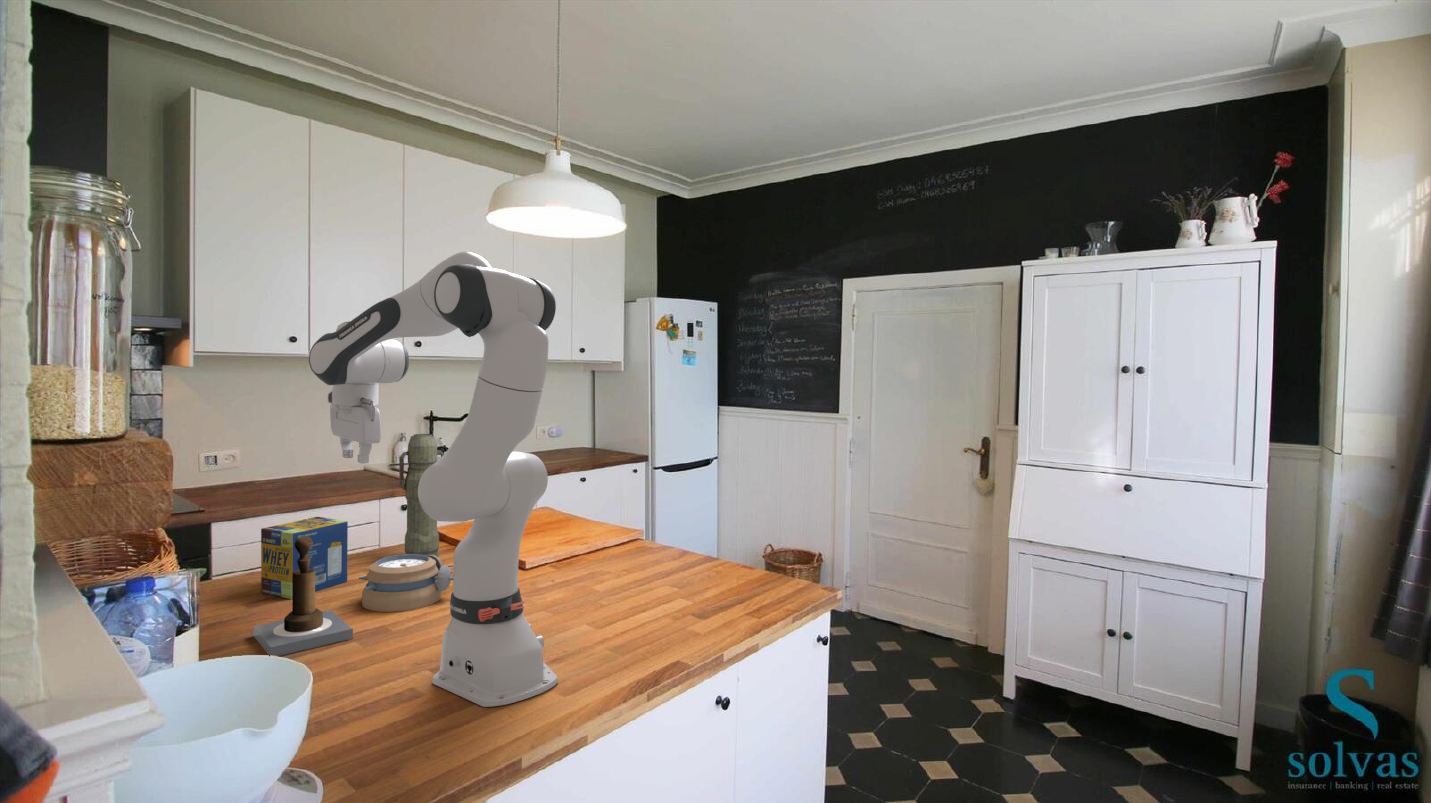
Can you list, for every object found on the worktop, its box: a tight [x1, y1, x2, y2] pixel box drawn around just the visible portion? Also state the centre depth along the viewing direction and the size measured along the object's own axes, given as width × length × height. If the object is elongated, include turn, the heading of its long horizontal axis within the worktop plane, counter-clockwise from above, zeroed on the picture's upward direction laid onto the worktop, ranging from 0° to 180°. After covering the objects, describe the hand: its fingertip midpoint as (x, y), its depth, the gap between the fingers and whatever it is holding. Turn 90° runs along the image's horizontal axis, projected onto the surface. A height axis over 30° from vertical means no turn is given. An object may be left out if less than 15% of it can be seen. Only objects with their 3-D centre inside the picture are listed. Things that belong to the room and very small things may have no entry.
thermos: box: [398, 433, 445, 558], centre depth 194 cm, size 9×12×35 cm
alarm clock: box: [358, 553, 454, 613], centre depth 163 cm, size 17×9×23 cm
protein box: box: [260, 516, 349, 600], centre depth 167 cm, size 10×15×16 cm
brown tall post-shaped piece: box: [283, 536, 324, 632], centre depth 137 cm, size 7×6×18 cm
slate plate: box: [252, 609, 354, 657], centre depth 137 cm, size 14×14×2 cm
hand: (355, 460), depth 150 cm, fingers open, 8 cm apart
